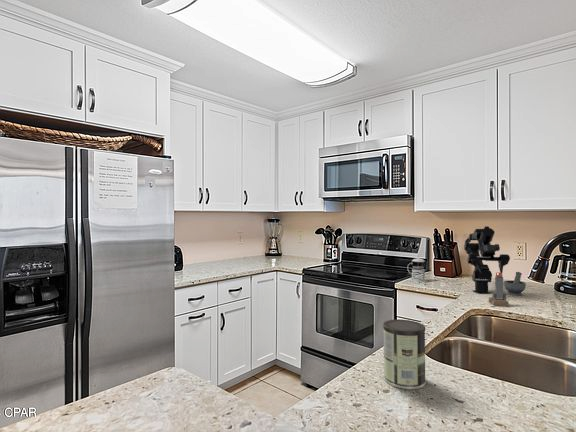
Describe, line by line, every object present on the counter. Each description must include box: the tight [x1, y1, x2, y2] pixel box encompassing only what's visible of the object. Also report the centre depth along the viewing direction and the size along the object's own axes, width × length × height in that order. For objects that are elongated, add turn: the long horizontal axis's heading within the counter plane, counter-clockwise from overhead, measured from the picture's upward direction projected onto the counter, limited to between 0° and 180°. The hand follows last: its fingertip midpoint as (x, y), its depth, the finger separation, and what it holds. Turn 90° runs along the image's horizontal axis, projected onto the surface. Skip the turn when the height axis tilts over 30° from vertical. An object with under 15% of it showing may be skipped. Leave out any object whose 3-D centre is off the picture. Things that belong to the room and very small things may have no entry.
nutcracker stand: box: [488, 292, 509, 308], centre depth 167 cm, size 8×6×6 cm
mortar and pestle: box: [503, 271, 527, 297], centre depth 188 cm, size 11×9×12 cm
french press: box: [407, 243, 426, 282], centre depth 228 cm, size 10×12×25 cm
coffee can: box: [382, 319, 427, 390], centre depth 89 cm, size 10×10×14 cm
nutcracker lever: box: [494, 272, 504, 298], centre depth 166 cm, size 3×3×12 cm
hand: (491, 272), depth 176 cm, fingers open, 9 cm apart
